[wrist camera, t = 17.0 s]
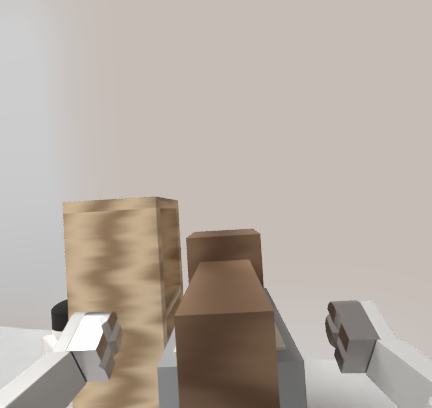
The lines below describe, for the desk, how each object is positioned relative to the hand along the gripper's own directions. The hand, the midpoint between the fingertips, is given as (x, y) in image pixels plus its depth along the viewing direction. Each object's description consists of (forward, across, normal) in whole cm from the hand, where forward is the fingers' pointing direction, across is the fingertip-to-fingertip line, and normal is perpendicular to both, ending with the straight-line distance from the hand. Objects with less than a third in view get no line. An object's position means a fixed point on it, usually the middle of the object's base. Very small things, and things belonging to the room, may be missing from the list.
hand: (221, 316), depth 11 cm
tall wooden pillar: (+12, +12, +30) cm, 35 cm away
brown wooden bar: (+6, 0, +8) cm, 10 cm away
